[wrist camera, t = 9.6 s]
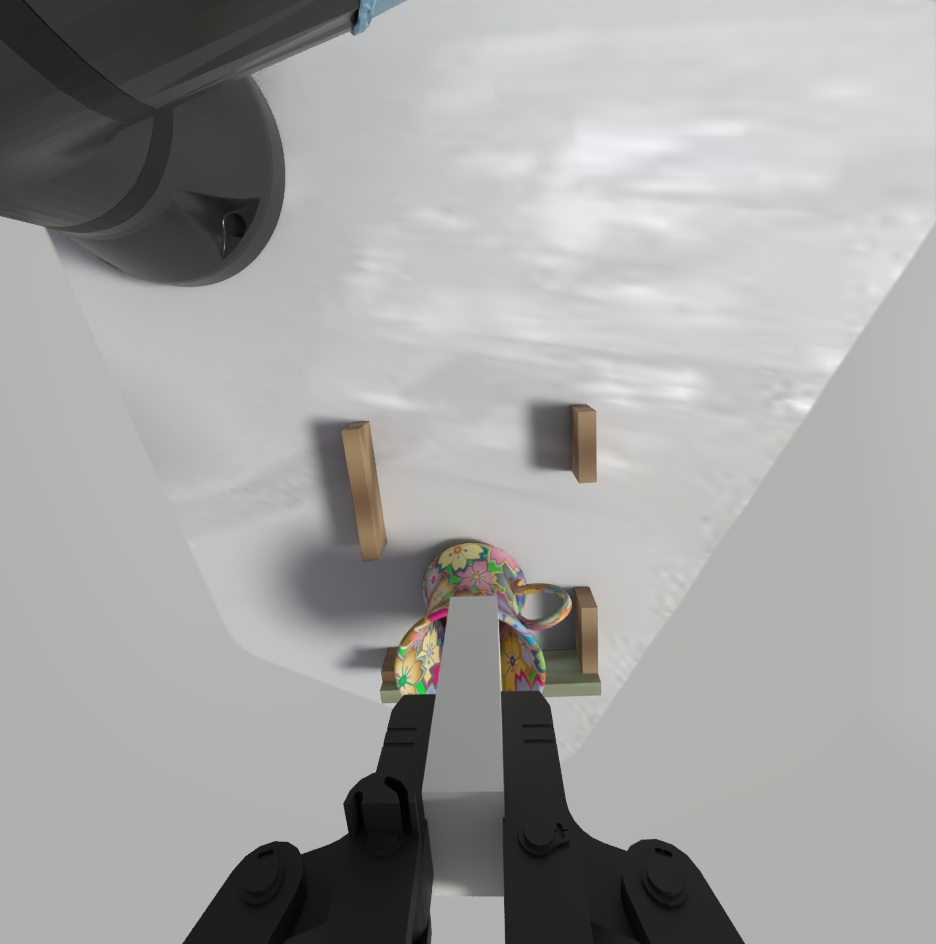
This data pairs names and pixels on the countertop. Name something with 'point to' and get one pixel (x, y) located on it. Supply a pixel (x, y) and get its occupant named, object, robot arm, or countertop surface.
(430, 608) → the mug
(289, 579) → the countertop surface
